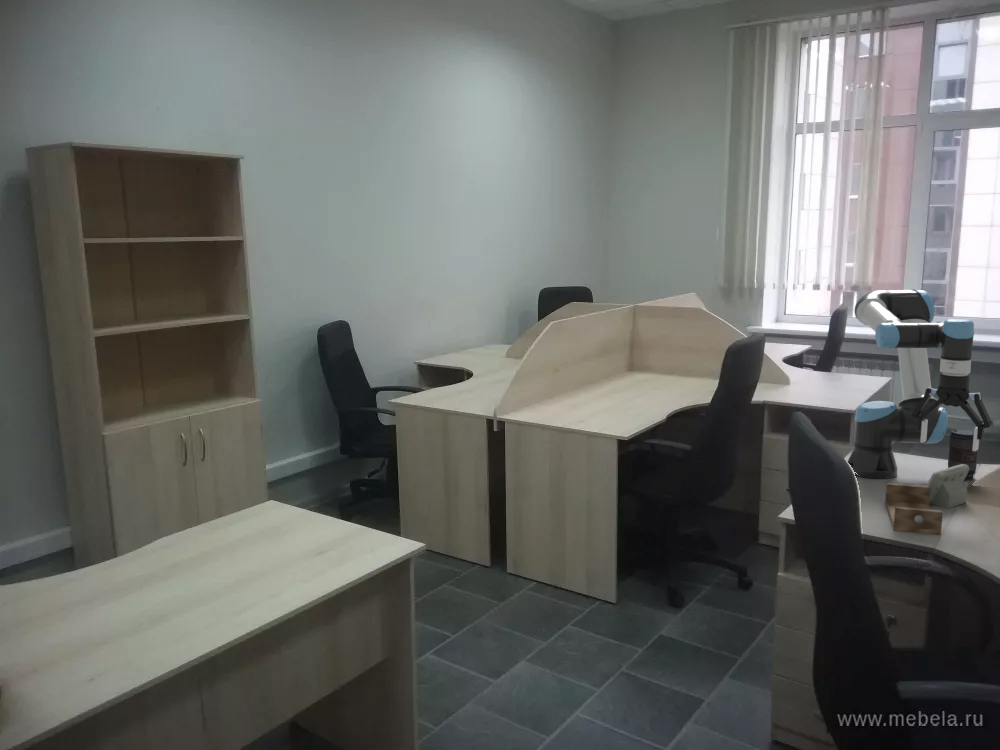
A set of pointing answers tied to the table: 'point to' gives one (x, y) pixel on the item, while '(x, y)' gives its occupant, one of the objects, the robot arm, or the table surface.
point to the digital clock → (948, 486)
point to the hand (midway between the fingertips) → (948, 445)
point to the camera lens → (962, 451)
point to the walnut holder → (912, 509)
